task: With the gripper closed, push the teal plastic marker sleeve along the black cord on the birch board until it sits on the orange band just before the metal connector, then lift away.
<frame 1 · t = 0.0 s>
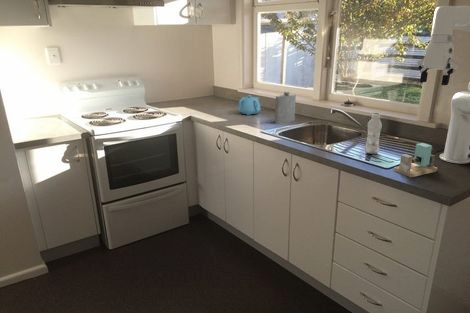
hand: (433, 83, 150), 37 cm above the countertop, tool pointing down, fingers open, 9 cm apart
decorative pot: (249, 113, 270), on the countertop
hip flask: (285, 122, 244), on the countertop
plastic bottle: (371, 153, 181), on the countertop
sleeve: (422, 154, 157), point 7 cm above the countertop, slide at 0.0 cm
cord board: (415, 170, 158), on the countertop
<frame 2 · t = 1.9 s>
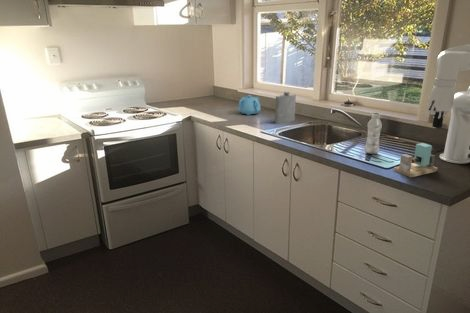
hand: (436, 127, 156), 18 cm above the countertop, tool pointing down, fingers closed
nothing on the countertop moved.
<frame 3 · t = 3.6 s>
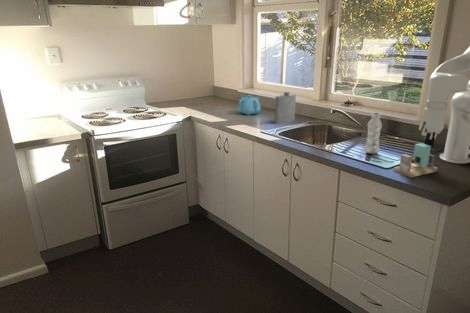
hand: (428, 147, 158), 10 cm above the countertop, tool pointing down, fingers closed
sleeve: (421, 154, 157), point 7 cm above the countertop, slide at 0.7 cm, touching gripper
everything else where it was.
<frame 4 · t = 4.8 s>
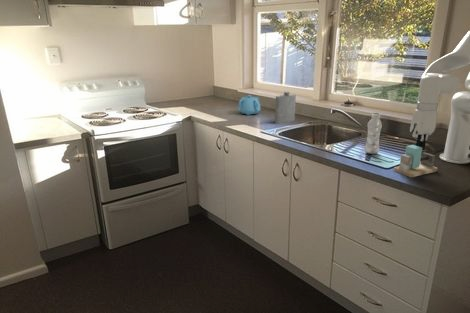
hand: (419, 149, 155), 10 cm above the countertop, tool pointing down, fingers closed
sleeve: (412, 156, 155), point 7 cm above the countertop, slide at 6.0 cm, touching gripper
everything else where it was.
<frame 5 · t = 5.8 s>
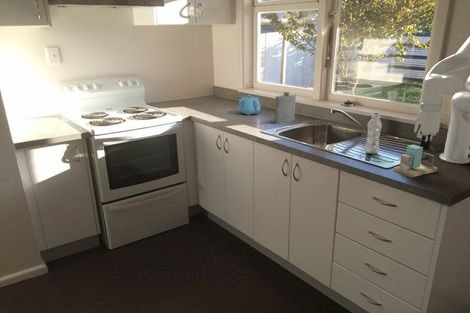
hand: (424, 149, 157), 9 cm above the countertop, tool pointing down, fingers closed
sleeve: (413, 156, 155), point 7 cm above the countertop, slide at 5.5 cm
everything else where it was.
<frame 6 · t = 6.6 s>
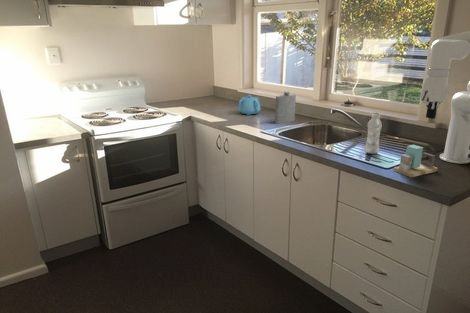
hand: (430, 117, 153), 23 cm above the countertop, tool pointing down, fingers closed
nothing on the countertop moved.
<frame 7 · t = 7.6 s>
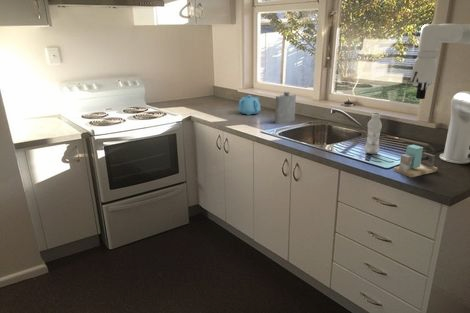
hand: (420, 98, 161), 29 cm above the countertop, tool pointing down, fingers closed
nothing on the countertop moved.
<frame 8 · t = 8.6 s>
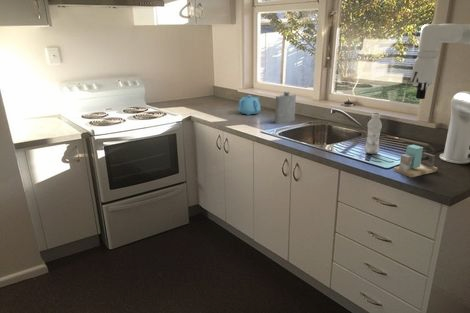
hand: (420, 98, 161), 29 cm above the countertop, tool pointing down, fingers closed
nothing on the countertop moved.
at the end: sleeve slide at 5.5 cm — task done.
